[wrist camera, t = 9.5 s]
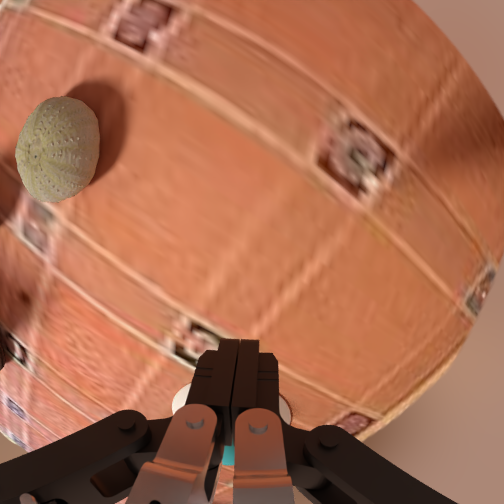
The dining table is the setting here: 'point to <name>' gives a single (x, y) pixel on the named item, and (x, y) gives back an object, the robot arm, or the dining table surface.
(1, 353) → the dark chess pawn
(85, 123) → the sea urchin shell
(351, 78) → the dining table surface
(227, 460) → the ball
